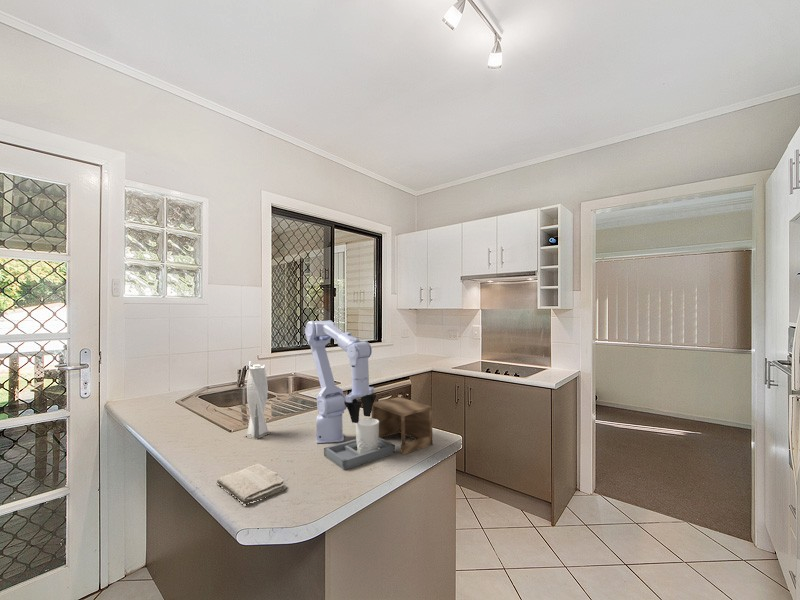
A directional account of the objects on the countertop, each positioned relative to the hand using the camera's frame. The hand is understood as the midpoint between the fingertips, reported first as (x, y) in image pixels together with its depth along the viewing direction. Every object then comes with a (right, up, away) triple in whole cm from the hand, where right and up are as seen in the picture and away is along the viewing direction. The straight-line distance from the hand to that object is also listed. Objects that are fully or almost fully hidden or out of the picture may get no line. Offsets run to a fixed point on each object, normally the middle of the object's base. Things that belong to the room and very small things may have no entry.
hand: (361, 419), depth 118 cm
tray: (0, -11, -3) cm, 11 cm away
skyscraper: (-42, -12, +18) cm, 47 cm away
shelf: (+13, -11, +8) cm, 19 cm away
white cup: (+2, -11, -1) cm, 11 cm away
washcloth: (-27, -11, -22) cm, 37 cm away
